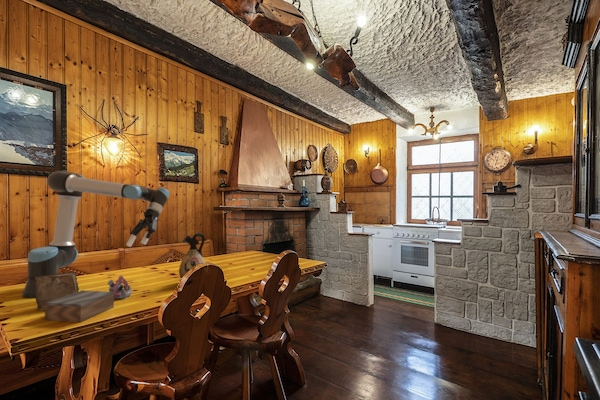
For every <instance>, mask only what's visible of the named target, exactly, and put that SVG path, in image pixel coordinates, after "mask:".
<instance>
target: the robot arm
mask: <svg viewBox="0 0 600 400" xmlns="http://www.w3.org/2000/svg"><path fill="white" fill-rule="evenodd" d="M46 183H47V187H48V188H49V189H51V190H52V191H54V192H56V193H55V196H57V197H58V206H57V210H56V211H57V212H56V216H55V217H56V219H55V225H54V233H53V238H52V239H53V240H52V241H50V242H49V243H48V246H41V247H37V248H34V249H31V250H29V251H28V254H27V255H28V256H27V281H26V283H25V285H24V288H23V291H22V294H21V295H22V298H25V299H26V298H27V299H32V298H35V299H36V284H35V277H40V276H47V275H53V274H58V269H63V268H65V267H68V266H71V265H72V264H73V263H75V261H76V260H77V258H78V255H79V252H78V250H77V249H76V243H75V242H74V241H73V240H74V233H75V225H76V219H77V212H78V203H79V200H80V199H82V198H83V193H88V194H95V195H102V196H110V197H115V198H122V199H123V198H124V199H128V200H142V201H147V202H149V204H148V205H147V208H146V209H145V211H144V213H143V216H144V219H142V218H141V219H139V221H138V223H137V224H136V225H135V226H134V227H133V228H132V229H131V231H130V232H129V234H130V237H129V239H128V240H127V242H126V243H125V245H126V246H127V247H129V248H131V247H132V245H133V244H134V243H135V241H136V238H137V237H138V234H140V233H141V231H143V230H144V229H146V228H147V230H146V232H145V234H144V235H143V237H142V239H141V241H140V244H142V245H144V246H146V245H147V243H148V241H149V240H150V237H151V235H153V233H156V232H157V231H156V230H157V225H158V221H159V217H160V215H161V213H162V212H163V211H162V210H163V209H164V207H165V205H166V204H167V201H168V199H169V197H170V191H169V190H168V189H167V188H165V187H158V188H157V189H152V188H149V187H146V186H143V185H140V184H139V185H138V184H126V183H121V182H114V181H108V180H101V179H94V178H86V177H84V176H83V175H81V174H78V173H75V172H70V171H63V170H56V171H54V172H51V173H50V174H49V175H48V177H47V179H46Z"/></svg>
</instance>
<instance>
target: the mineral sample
mask: <svg viewBox="0 0 600 400" xmlns="http://www.w3.org/2000/svg"><path fill="white" fill-rule="evenodd" d="M35 284H36V297H35V301H36V309H37V310H38V311H45V302H48V301H51V300H54V299H58V298H61V297H64V296H67V295H70V294H73V293H76V292H79V290H80V287H79V283H78V277H77V272H75V271H68V272H61V273H57V274H53V275H47V276H40V277H35Z"/></svg>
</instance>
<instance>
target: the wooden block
mask: <svg viewBox="0 0 600 400" xmlns="http://www.w3.org/2000/svg"><path fill="white" fill-rule="evenodd" d="M114 303H115V300H114V292H109V291H105V290H104V291H103V290H100V291H99V290H80V291H79V290H78V292H76V293H73V294H70V295H67V296H64V297H61V298H58V299H54V300H51V301H48V302H45V310H44V321H52V322H65V321H66V322H67V323H83V322H84V321H87V320H89V319H91V318H94V317H96V316H98V315H101V314H103V313H105V312H107V311H109V310H111V309H113V308H114V307H115V306H114Z"/></svg>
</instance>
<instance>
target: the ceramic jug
mask: <svg viewBox="0 0 600 400" xmlns="http://www.w3.org/2000/svg"><path fill="white" fill-rule="evenodd" d="M197 237H199V238H201V243H200V242H199V240H198V239H197ZM205 240H206V238H205V234H203V233H201V232H197V233H196V232H195V234H193V236H192V237H191V236H190V235H187V236H186V237H184V238H183V239H182V242H183V243H186V244H189V246H190V247H189V250H187V252H186V254H185V255H184V257H183V258H182V260H181V261H180V265H179V269H178V274H179V277H180V279H181V278H182V277H183V276H184V275H185V274H186V273H187V272H188V271H189V270H190V269H192V268H193V267H194V266H196V265H199V264H203V263H206V261H205V258H204V255H203V251H202V250H203V247H204V244H205ZM198 244H200V245H199V247H197V245H198ZM206 264H207V263H206Z"/></svg>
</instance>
